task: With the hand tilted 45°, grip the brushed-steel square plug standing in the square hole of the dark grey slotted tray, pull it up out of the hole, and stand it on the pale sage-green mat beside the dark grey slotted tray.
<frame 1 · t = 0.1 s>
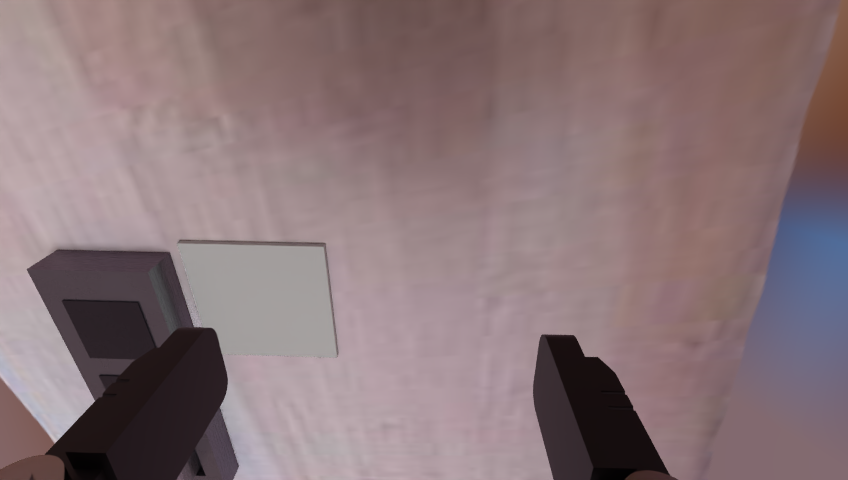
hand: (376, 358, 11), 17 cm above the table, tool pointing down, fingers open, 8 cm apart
mat: (264, 301, 32), on the table
dark grey slotted tray: (162, 375, 36), on the table
steel plug: (184, 431, 39), resting in dark grey slotted tray
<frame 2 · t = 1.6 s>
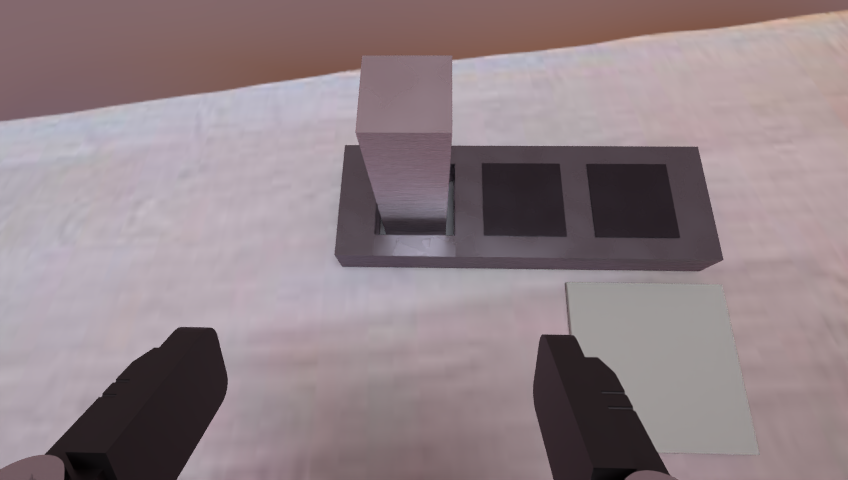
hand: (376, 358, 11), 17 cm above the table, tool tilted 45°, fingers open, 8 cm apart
mat: (653, 363, 27), on the table
dark grey slotted tray: (515, 214, 30), on the table
steel plug: (417, 213, 31), resting in dark grey slotted tray
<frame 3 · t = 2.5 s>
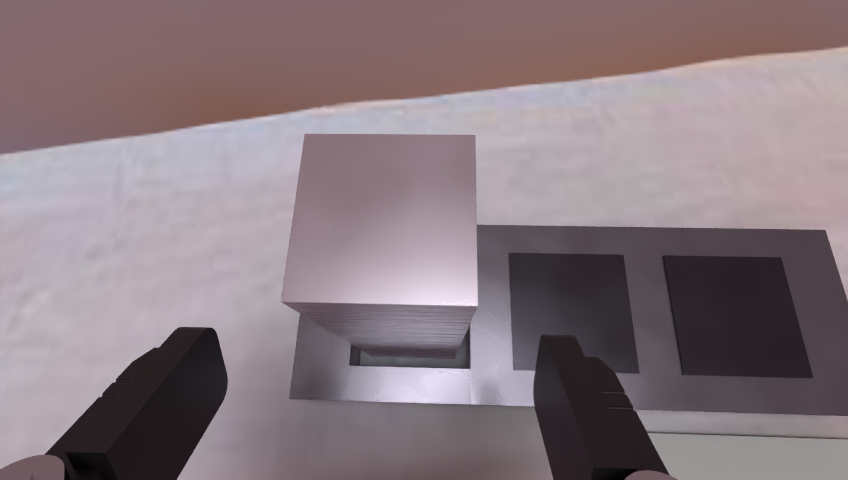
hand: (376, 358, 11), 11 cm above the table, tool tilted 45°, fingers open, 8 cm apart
dark grey slotted tray: (555, 319, 21), on the table
steel plug: (414, 316, 22), resting in dark grey slotted tray
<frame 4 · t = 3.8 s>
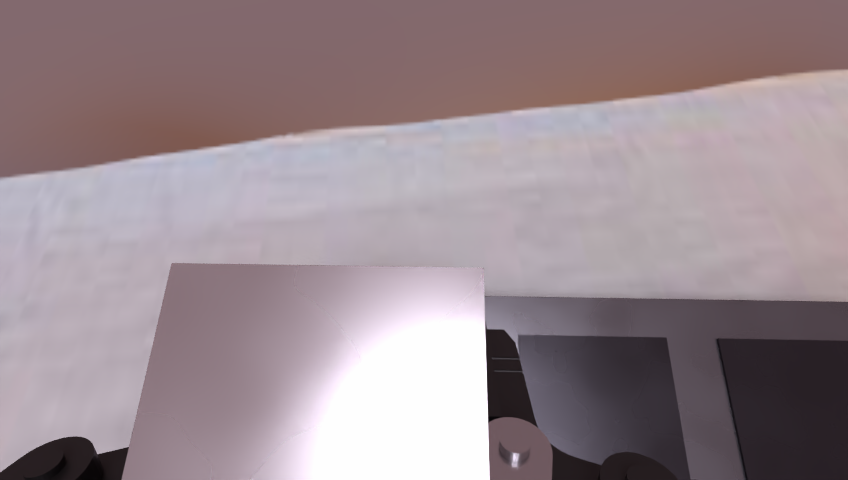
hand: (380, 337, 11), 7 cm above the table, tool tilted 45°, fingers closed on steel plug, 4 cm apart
dark grey slotted tray: (576, 412, 17), on the table
steel plug: (397, 408, 17), resting in dark grey slotted tray, touching gripper
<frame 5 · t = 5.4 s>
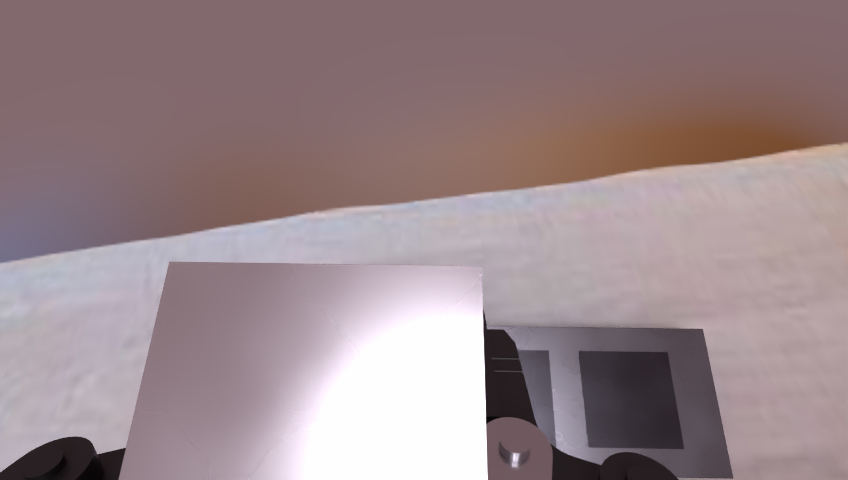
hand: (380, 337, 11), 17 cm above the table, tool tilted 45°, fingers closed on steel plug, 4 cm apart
dark grey slotted tray: (500, 396, 27), on the table
steel plug: (397, 408, 17), point 11 cm above the table, touching gripper
when the fingers open (8 cm above the table, at t = 7.1 s): steel plug drops 1 cm, resting on mat.
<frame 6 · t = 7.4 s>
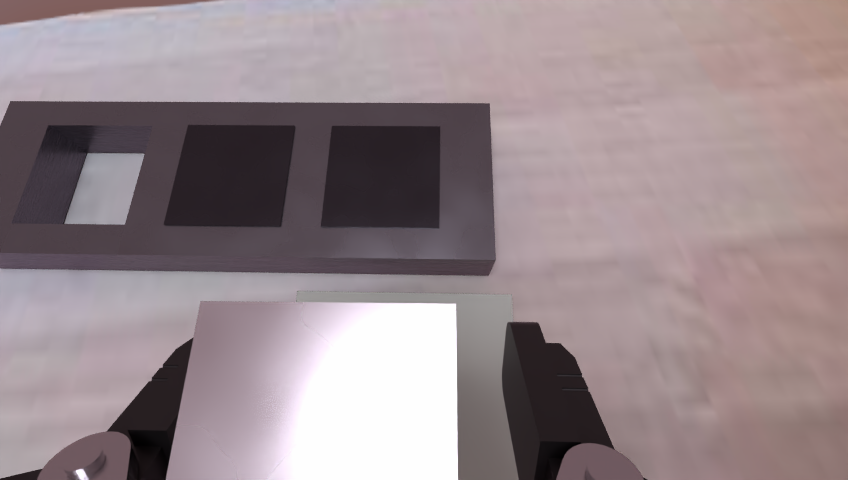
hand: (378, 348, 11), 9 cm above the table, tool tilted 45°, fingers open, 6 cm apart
mat: (400, 407, 19), on the table
dark grey slotted tray: (253, 197, 22), on the table
steel plug: (398, 412, 18), resting on mat
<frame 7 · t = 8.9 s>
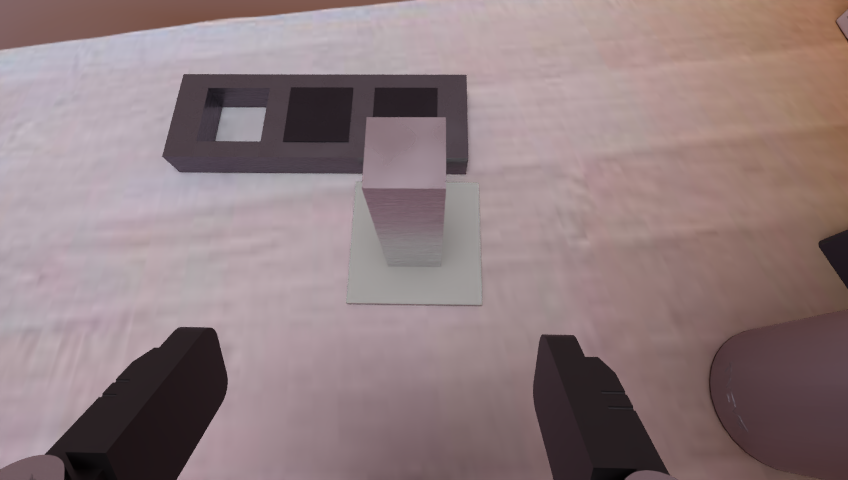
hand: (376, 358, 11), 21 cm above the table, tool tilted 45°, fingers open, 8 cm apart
mat: (415, 241, 34), on the table
dark grey slotted tray: (326, 132, 37), on the table
steel plug: (414, 241, 33), resting on mat
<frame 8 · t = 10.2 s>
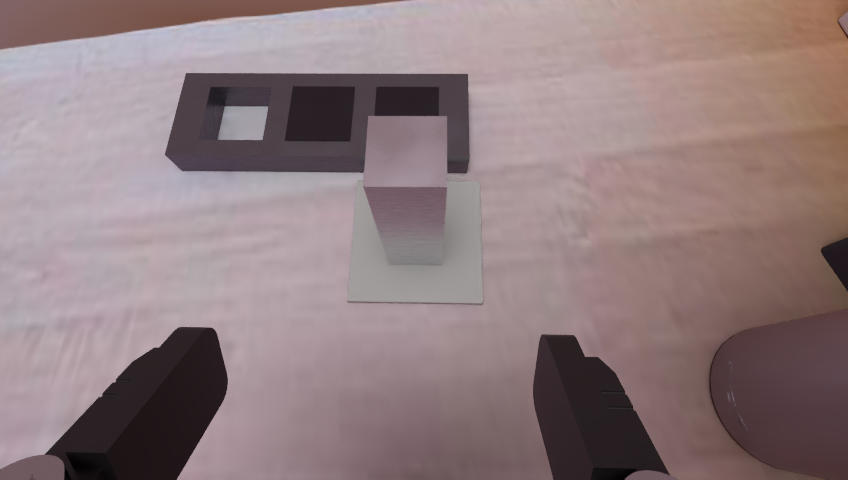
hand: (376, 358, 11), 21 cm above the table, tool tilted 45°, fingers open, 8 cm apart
mat: (416, 240, 34), on the table
dark grey slotted tray: (327, 131, 37), on the table
steel plug: (416, 240, 33), resting on mat
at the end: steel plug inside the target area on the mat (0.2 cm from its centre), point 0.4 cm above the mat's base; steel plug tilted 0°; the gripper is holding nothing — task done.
